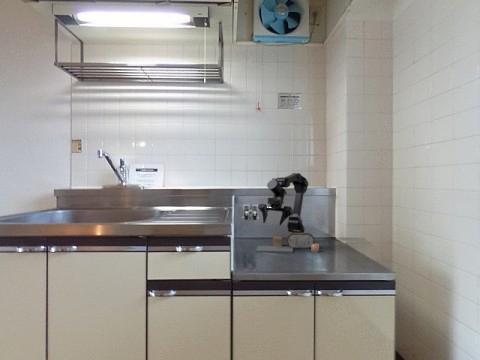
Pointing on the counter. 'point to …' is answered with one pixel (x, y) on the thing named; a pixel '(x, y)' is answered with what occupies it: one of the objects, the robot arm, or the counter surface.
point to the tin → (300, 240)
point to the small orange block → (314, 247)
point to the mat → (274, 249)
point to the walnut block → (277, 241)
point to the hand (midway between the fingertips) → (271, 223)
